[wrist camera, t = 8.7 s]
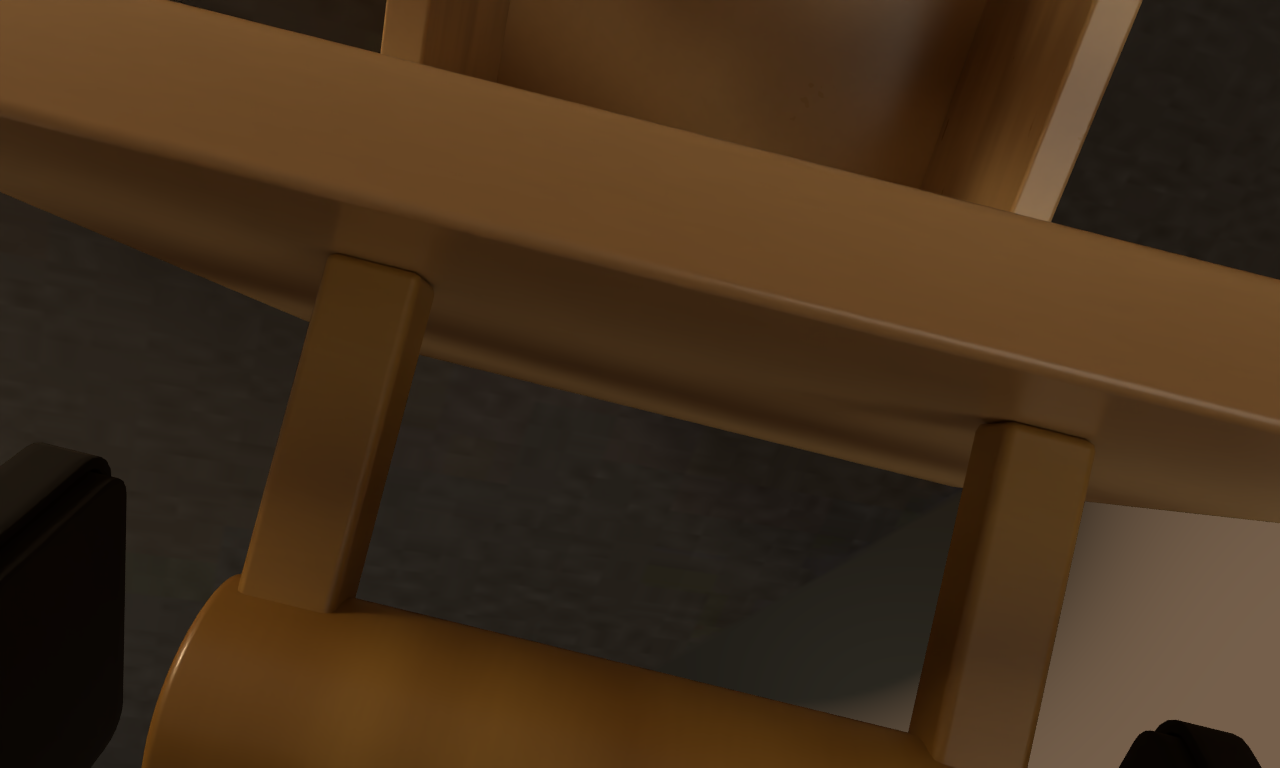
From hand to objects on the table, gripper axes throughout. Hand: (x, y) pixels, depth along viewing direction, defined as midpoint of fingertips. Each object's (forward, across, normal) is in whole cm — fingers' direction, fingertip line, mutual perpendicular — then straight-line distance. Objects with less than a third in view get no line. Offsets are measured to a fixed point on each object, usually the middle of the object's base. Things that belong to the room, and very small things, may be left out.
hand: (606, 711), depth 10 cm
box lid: (+5, 0, -2) cm, 5 cm away
